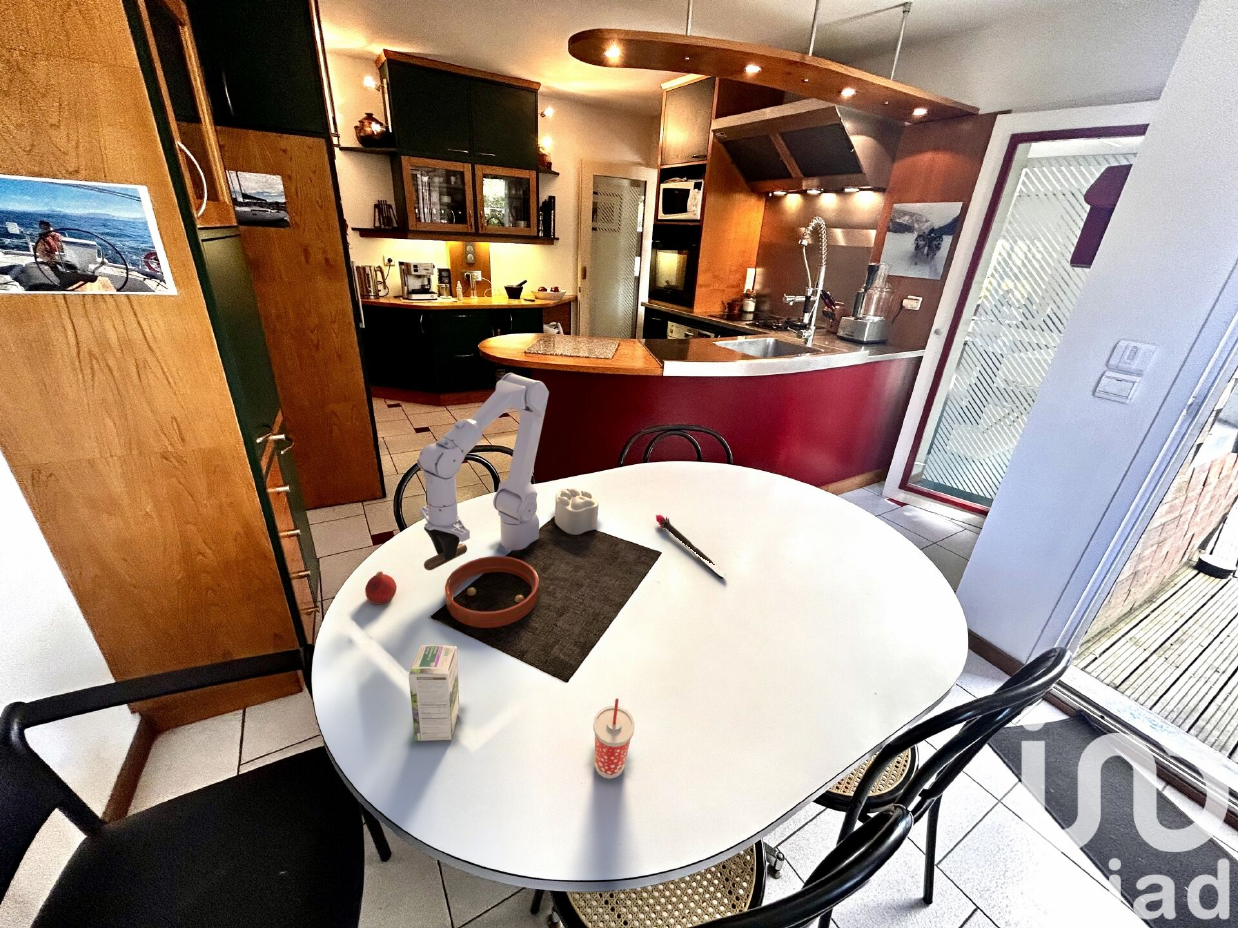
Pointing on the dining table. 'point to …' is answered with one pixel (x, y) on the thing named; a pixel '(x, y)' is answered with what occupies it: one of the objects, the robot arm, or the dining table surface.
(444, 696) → the syrup box
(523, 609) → the bowl
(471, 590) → the bead
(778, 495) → the dining table surface
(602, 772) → the beverage cup
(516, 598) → the bead
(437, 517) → the robot arm
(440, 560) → the stick
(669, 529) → the wand
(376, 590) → the red round piece
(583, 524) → the lumpy-topped squat cylinder
